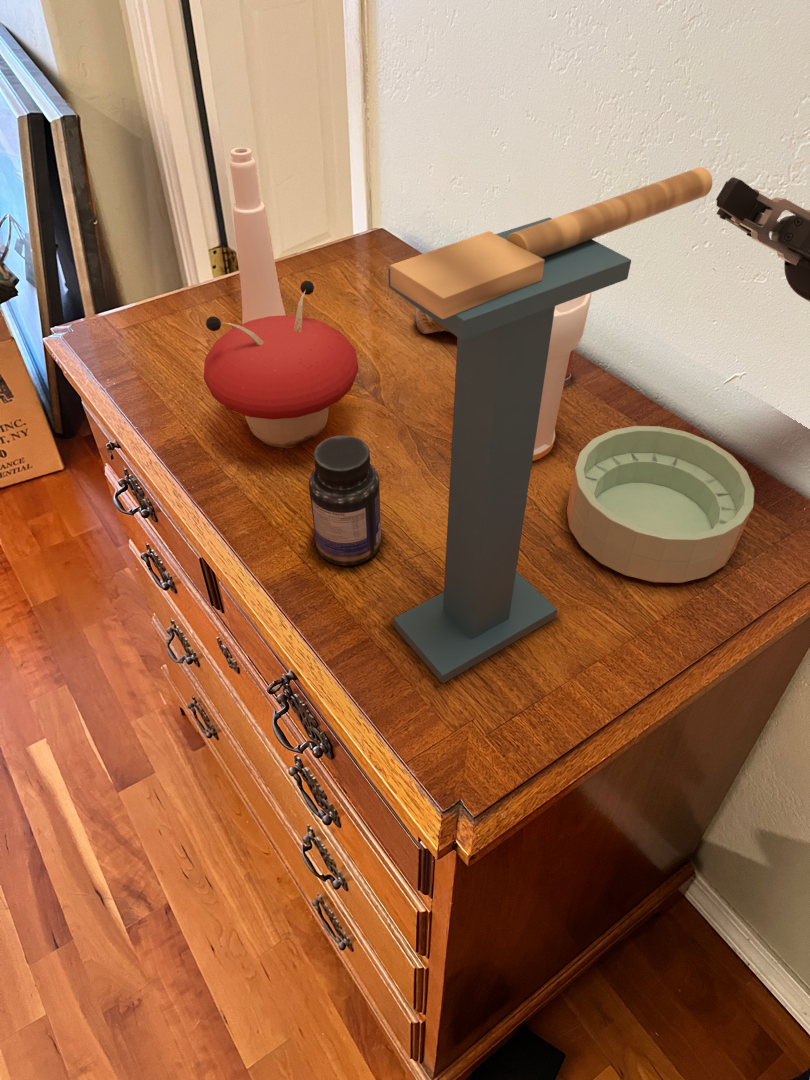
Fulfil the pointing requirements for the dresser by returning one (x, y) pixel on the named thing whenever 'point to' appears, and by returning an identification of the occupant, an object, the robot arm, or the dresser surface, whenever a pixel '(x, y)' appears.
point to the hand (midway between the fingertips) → (774, 211)
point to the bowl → (658, 503)
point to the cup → (559, 367)
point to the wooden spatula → (529, 247)
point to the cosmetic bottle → (253, 242)
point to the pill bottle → (345, 501)
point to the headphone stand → (497, 462)
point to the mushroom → (281, 374)
